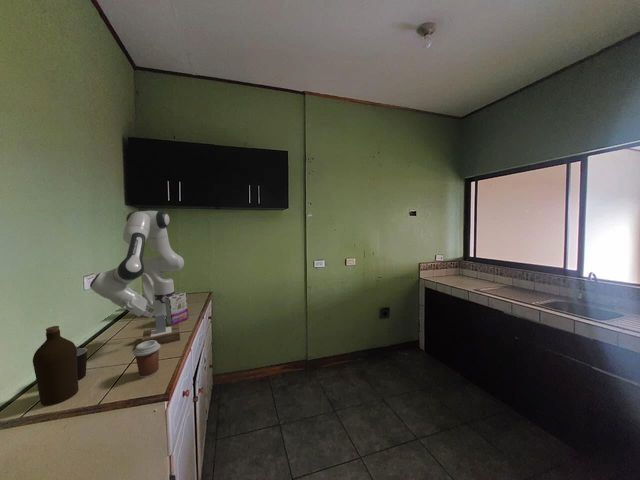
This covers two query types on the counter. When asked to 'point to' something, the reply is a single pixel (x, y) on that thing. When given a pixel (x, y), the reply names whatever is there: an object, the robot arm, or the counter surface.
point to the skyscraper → (148, 289)
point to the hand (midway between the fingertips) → (152, 313)
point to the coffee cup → (147, 358)
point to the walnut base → (163, 335)
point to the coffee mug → (81, 362)
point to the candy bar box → (176, 308)
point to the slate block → (160, 323)
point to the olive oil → (56, 368)
